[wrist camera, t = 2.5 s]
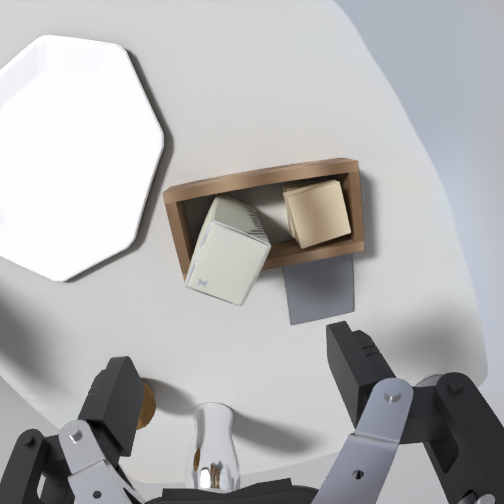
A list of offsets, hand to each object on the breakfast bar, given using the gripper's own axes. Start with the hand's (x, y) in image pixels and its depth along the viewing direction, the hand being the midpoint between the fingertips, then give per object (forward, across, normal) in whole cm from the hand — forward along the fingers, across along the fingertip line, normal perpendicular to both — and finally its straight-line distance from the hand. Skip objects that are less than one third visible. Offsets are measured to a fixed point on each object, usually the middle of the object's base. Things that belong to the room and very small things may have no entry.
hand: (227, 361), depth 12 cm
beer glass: (+22, +8, +28) cm, 37 cm away
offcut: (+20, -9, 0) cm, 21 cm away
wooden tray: (+22, -4, 0) cm, 22 cm away
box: (+22, 0, 0) cm, 22 cm away
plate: (+23, +19, -12) cm, 32 cm away
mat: (+22, -9, +10) cm, 26 cm away
